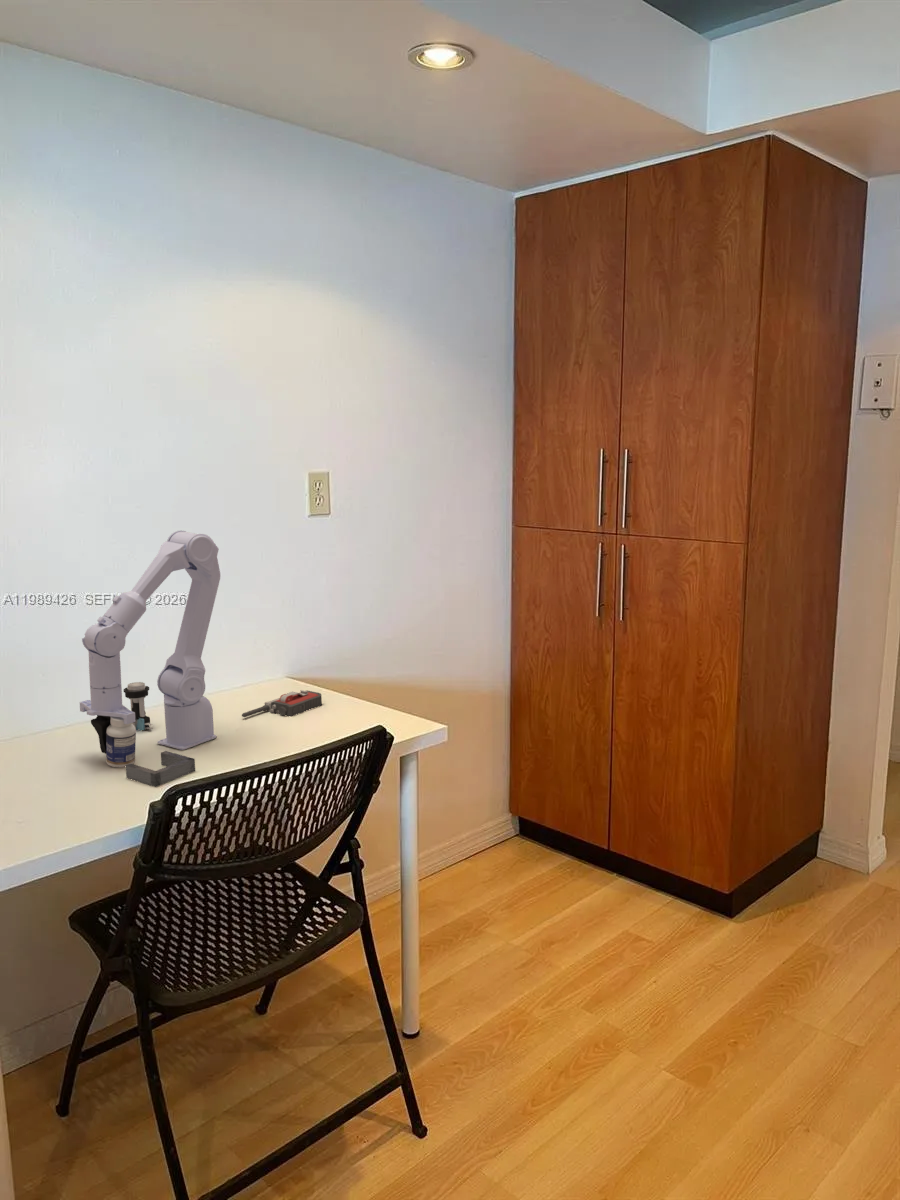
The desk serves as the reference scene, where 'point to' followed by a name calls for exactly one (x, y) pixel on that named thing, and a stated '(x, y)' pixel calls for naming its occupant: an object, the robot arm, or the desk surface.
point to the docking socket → (162, 770)
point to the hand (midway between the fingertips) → (109, 752)
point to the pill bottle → (120, 743)
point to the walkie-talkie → (290, 703)
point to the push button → (138, 704)
